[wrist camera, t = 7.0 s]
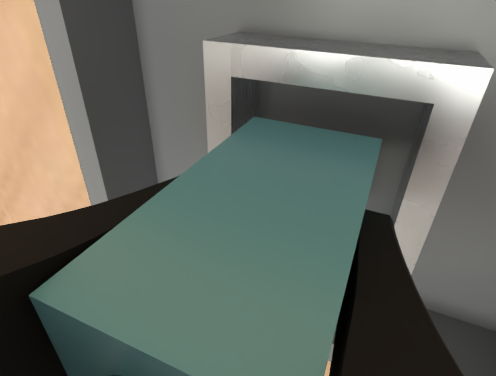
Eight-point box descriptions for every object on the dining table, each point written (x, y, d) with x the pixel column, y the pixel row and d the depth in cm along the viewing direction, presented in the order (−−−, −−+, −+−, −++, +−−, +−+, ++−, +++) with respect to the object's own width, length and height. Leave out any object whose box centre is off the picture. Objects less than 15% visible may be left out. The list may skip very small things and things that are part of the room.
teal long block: (382, 139, 9) (284, 540, 3) (355, 244, 12) (261, 617, 5) (254, 116, 11) (-33, 343, 4) (251, 214, 13) (60, 473, 6)
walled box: (904, -144, 6) (1475, -296, 3) (523, 344, 15) (555, 453, 11) (112, -94, 13) (0, -122, 10) (160, 224, 22) (109, 270, 18)
